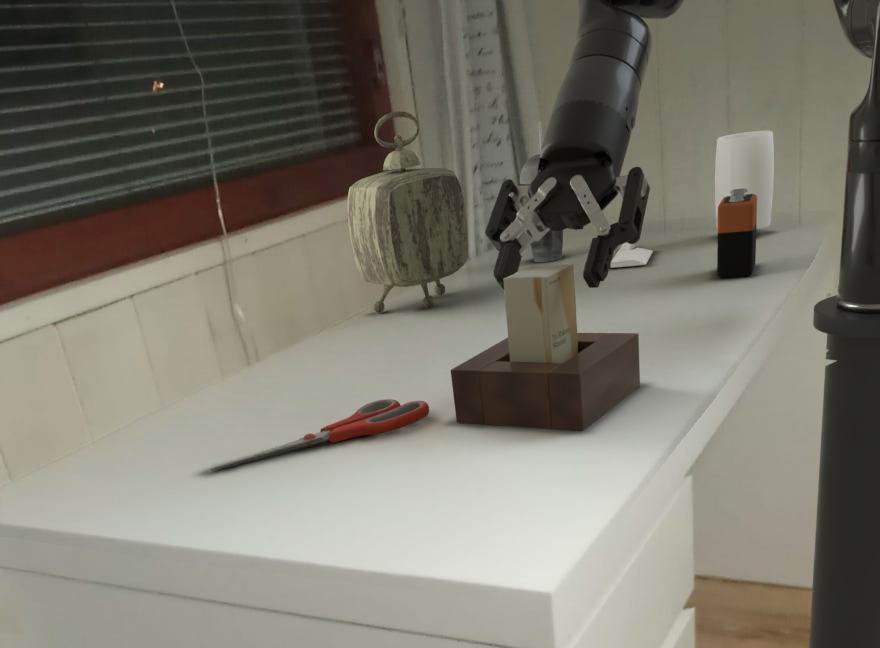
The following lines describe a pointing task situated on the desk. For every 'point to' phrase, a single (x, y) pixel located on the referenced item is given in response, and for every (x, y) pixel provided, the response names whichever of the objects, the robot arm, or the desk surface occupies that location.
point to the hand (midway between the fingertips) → (545, 284)
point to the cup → (746, 170)
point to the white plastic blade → (630, 256)
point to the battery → (737, 234)
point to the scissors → (356, 425)
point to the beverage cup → (552, 240)
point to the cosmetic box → (541, 314)
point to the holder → (547, 384)
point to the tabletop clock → (407, 222)
